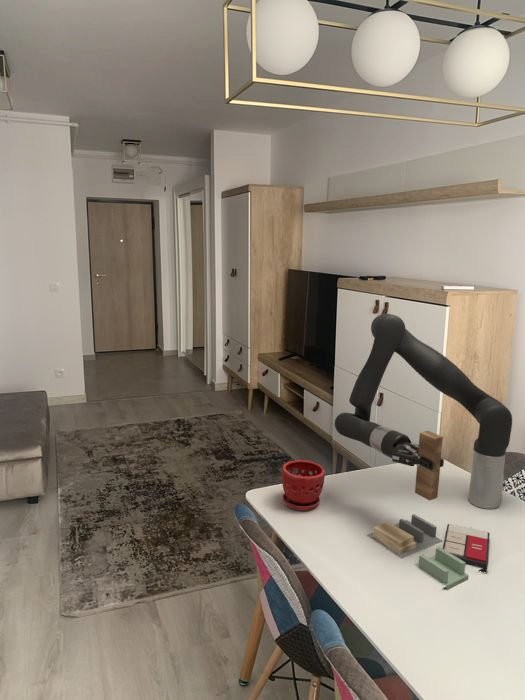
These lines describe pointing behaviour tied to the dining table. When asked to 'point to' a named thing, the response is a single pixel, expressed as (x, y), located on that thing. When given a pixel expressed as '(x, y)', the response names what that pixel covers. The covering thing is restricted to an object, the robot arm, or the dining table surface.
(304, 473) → the plant pot
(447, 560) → the board holder
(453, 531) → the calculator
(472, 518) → the dining table surface
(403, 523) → the rack
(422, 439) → the tall board
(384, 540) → the offcut stack
